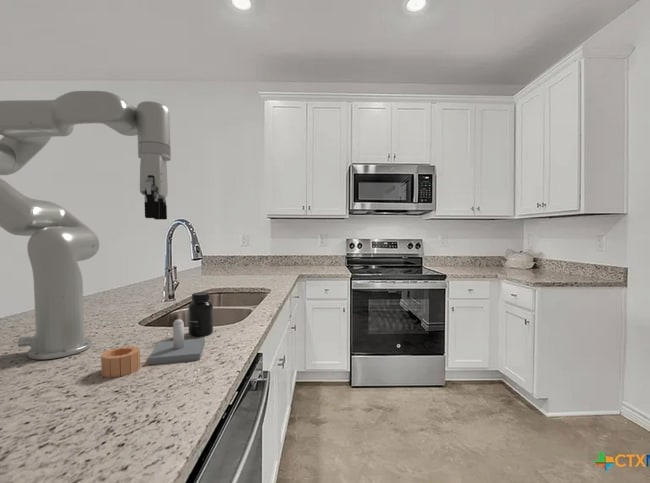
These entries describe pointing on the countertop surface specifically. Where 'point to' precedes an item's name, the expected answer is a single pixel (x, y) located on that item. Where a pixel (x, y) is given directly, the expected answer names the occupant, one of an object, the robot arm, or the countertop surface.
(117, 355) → the ring
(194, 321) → the supplement bottle
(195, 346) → the post block
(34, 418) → the countertop surface
